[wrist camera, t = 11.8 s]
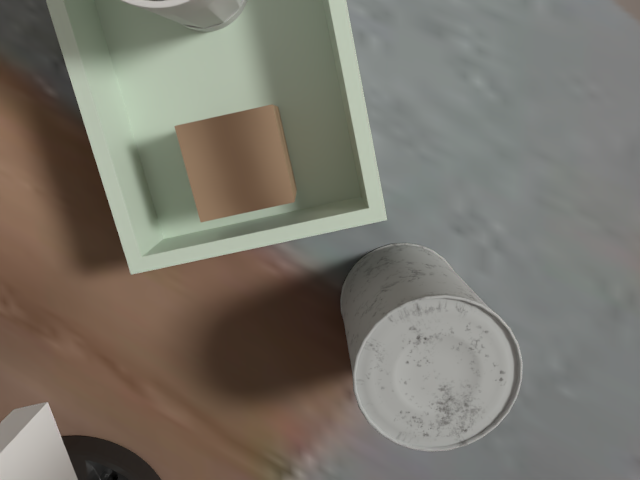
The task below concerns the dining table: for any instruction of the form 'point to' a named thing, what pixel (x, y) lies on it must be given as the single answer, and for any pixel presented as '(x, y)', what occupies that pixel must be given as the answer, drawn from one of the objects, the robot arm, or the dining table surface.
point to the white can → (426, 350)
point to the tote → (216, 100)
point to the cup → (195, 12)
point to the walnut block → (237, 162)
